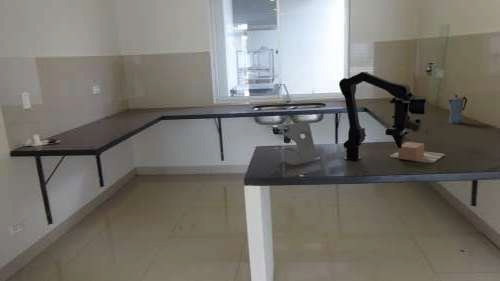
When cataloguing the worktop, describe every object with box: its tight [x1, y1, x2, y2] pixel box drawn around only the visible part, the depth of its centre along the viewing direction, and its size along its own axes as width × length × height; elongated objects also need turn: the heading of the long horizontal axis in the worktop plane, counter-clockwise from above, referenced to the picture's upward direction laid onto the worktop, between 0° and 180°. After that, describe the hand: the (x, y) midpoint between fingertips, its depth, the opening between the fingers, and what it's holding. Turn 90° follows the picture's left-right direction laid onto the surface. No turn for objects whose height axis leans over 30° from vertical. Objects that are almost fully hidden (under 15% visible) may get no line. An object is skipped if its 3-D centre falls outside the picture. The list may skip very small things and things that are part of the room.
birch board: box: [388, 151, 446, 164], centre depth 181 cm, size 18×20×1 cm
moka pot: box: [447, 94, 468, 124], centre depth 264 cm, size 10×15×20 cm, turn 107°
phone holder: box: [280, 121, 321, 166], centre depth 182 cm, size 17×10×18 cm, turn 119°
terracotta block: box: [397, 141, 425, 162], centre depth 178 cm, size 6×8×11 cm
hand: (399, 148), depth 166 cm, fingers closed
